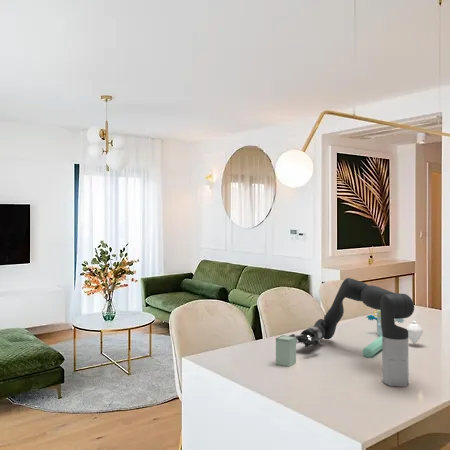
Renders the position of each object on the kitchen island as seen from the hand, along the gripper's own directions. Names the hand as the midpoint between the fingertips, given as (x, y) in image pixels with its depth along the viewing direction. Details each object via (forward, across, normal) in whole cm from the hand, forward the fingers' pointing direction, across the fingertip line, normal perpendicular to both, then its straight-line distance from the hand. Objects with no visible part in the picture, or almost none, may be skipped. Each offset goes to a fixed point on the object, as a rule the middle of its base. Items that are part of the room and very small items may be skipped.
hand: (296, 343), depth 210 cm
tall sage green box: (+11, 0, +6) cm, 13 cm away
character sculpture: (-61, +23, +6) cm, 66 cm away
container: (-28, +27, +7) cm, 39 cm away
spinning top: (-47, +40, +6) cm, 62 cm away
